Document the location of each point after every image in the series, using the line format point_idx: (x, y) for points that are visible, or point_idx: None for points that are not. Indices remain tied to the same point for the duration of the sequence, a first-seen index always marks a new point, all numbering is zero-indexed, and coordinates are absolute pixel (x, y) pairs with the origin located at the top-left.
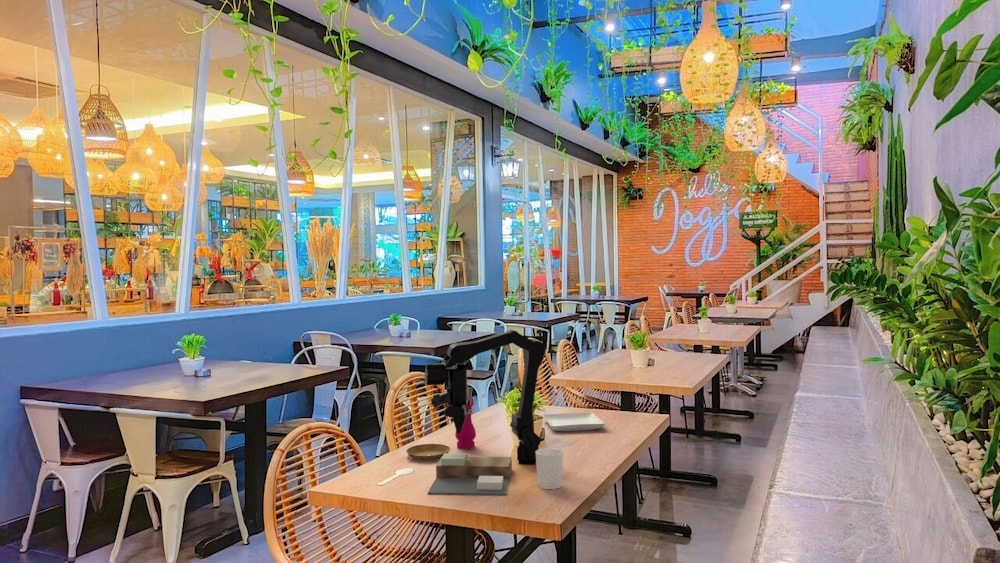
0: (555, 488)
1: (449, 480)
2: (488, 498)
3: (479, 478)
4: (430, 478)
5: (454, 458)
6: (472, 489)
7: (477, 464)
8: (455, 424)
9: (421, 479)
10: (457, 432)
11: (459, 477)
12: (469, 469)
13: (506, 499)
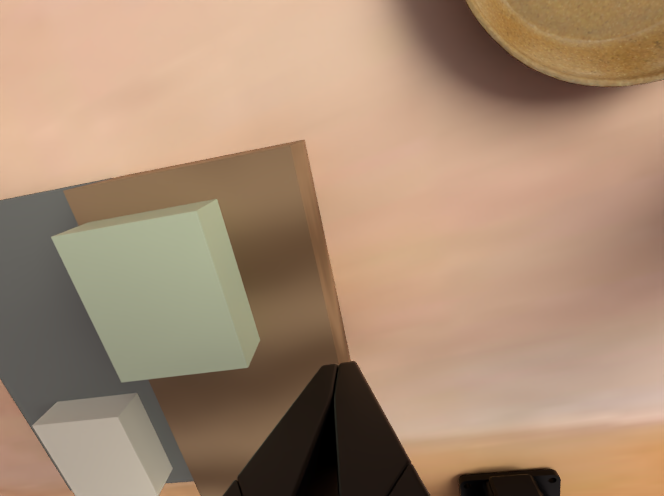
0: None
1: None
2: (18, 443)
3: (82, 424)
4: (119, 137)
5: (102, 323)
6: (47, 386)
7: (193, 410)
8: (246, 478)
9: (79, 88)
10: (321, 377)
11: None
12: None
13: (42, 489)
